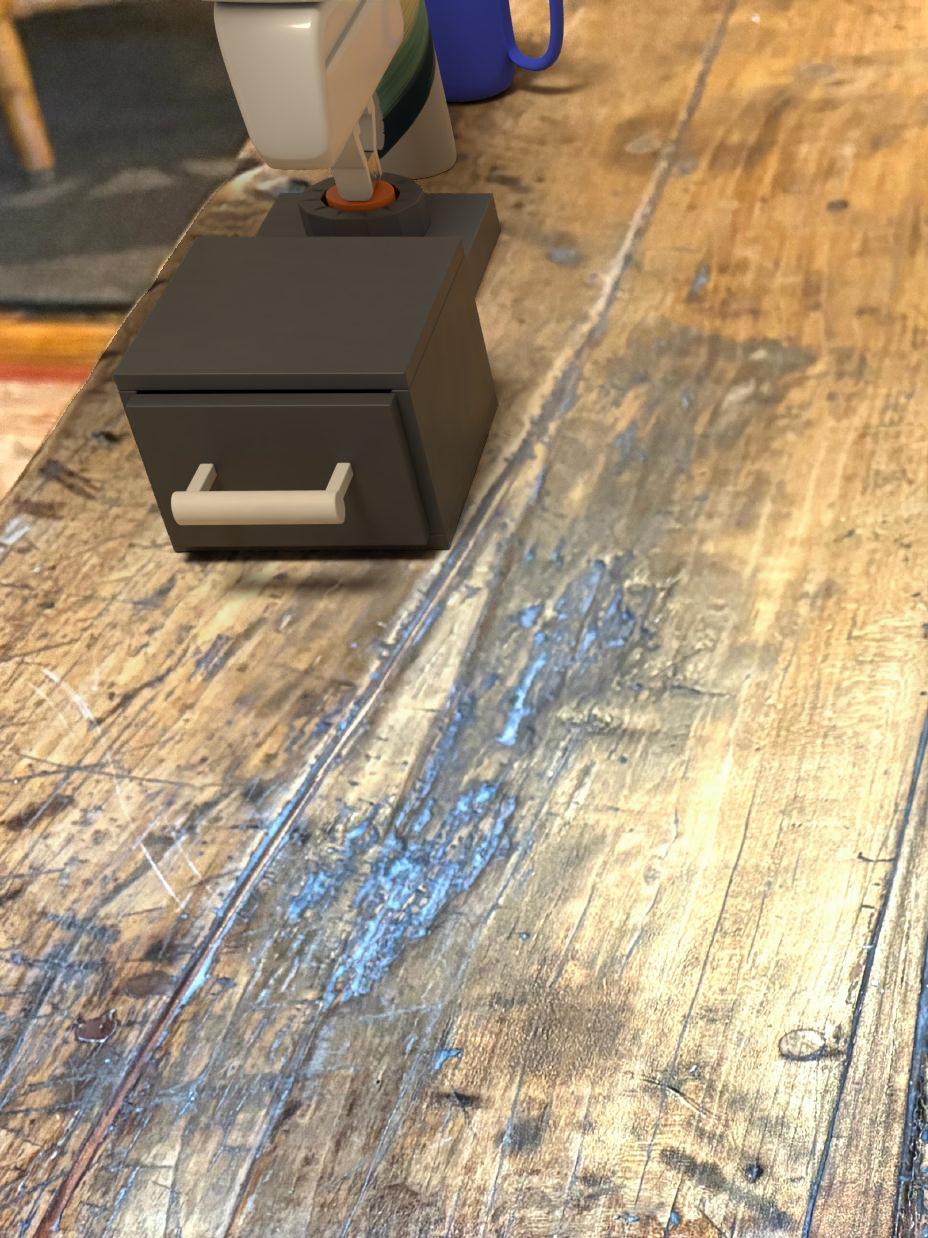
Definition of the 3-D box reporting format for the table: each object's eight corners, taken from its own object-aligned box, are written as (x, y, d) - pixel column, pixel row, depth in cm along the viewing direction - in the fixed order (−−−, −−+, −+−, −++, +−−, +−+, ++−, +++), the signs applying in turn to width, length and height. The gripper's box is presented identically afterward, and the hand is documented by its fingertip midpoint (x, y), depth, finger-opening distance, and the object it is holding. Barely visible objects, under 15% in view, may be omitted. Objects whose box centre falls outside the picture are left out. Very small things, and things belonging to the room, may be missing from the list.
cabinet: (448, 549, 104) (404, 372, 98) (173, 552, 104) (111, 373, 97) (498, 405, 114) (461, 236, 108) (248, 406, 114) (196, 236, 107)
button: (327, 237, 122) (319, 204, 121) (341, 210, 125) (333, 178, 123) (394, 237, 122) (386, 204, 121) (407, 210, 125) (399, 178, 124)
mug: (556, 123, 141) (524, -52, 133) (377, 105, 142) (335, -69, 135) (605, 77, 146) (577, -93, 139) (431, 60, 147) (395, -110, 140)
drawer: (409, 593, 100) (371, 450, 95) (149, 595, 99) (97, 452, 94) (475, 409, 112) (444, 274, 107) (244, 410, 111) (202, 274, 107)
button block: (248, 306, 122) (226, 232, 119) (290, 231, 128) (270, 159, 126) (472, 306, 122) (455, 232, 119) (501, 231, 129) (486, 160, 126)
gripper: (275, -152, 119) (343, 118, 129) (175, -25, 105) (260, 268, 115) (395, -151, 120) (454, 119, 130) (311, -24, 106) (384, 268, 116)
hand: (362, 190), depth 122 cm, fingers closed, pressing on button
